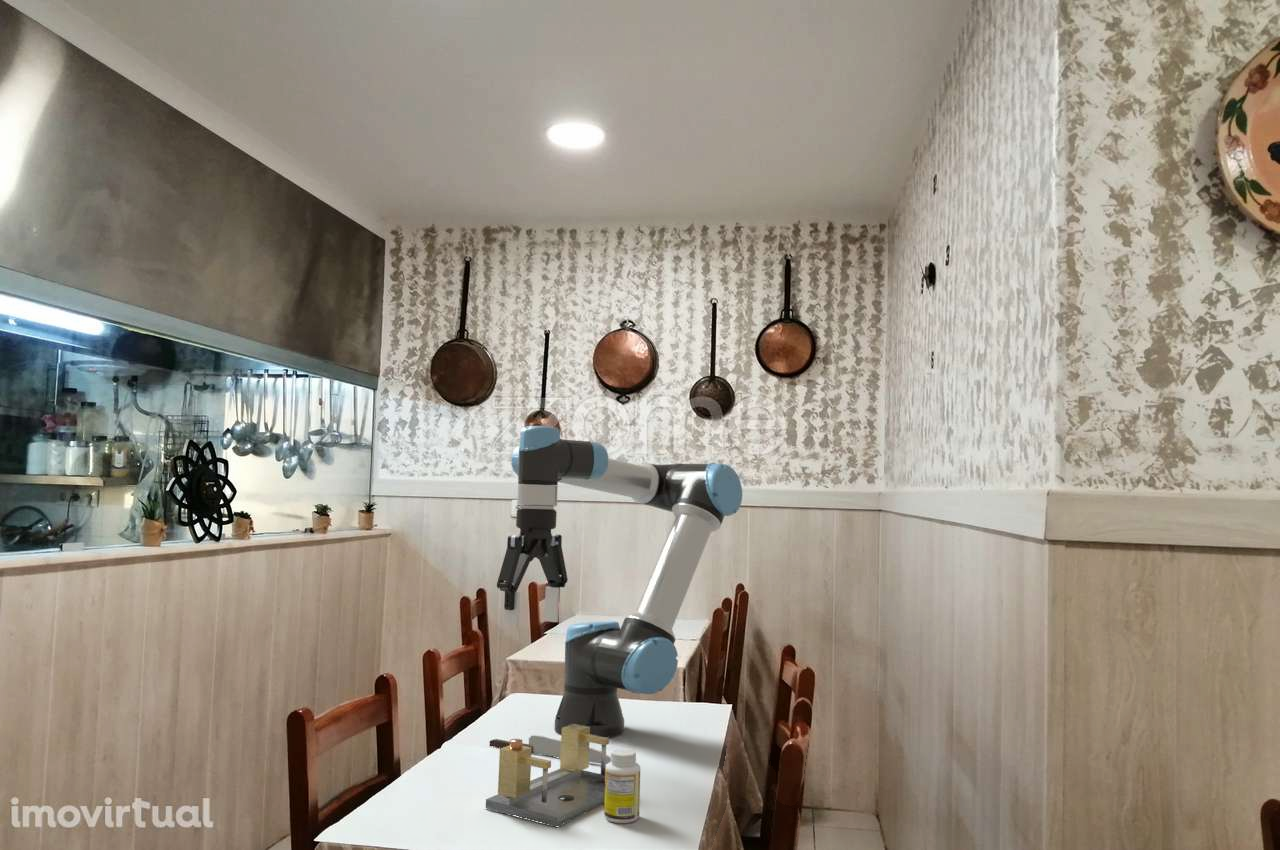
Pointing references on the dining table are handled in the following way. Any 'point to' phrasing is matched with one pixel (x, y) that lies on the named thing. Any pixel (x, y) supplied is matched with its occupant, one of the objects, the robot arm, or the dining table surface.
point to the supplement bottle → (622, 787)
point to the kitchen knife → (549, 747)
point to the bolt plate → (555, 797)
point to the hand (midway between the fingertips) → (532, 624)
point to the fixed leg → (579, 748)
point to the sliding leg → (519, 770)
